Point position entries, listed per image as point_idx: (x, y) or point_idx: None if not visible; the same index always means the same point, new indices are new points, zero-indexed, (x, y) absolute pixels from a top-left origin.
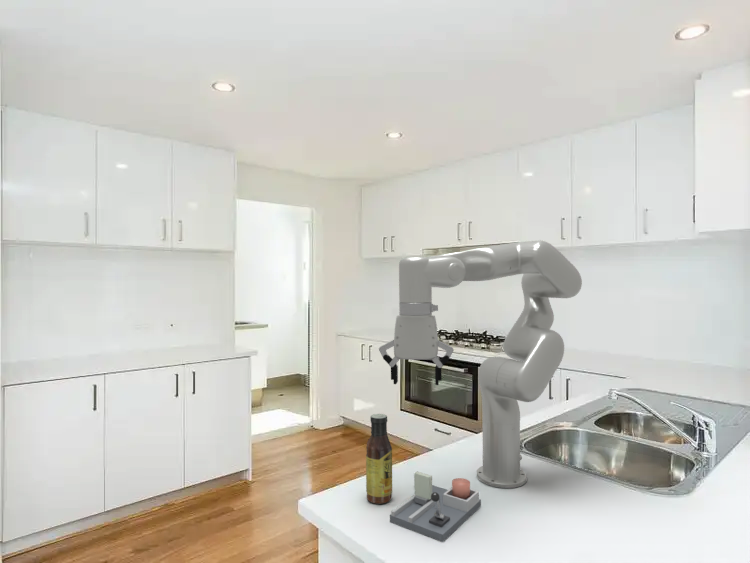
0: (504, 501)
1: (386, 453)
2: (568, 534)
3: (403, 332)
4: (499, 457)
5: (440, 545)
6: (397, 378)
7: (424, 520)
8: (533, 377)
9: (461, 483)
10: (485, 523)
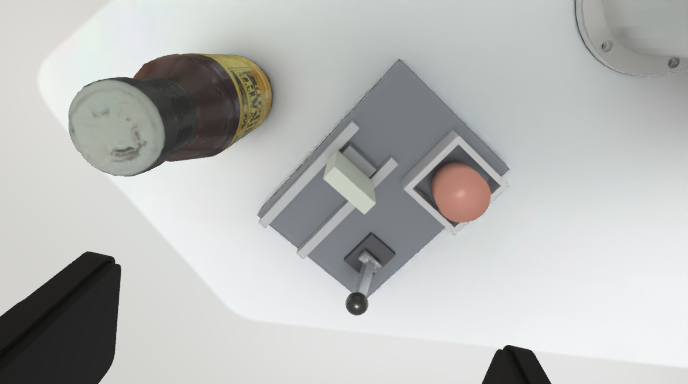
0: (578, 146)
1: (217, 153)
2: (633, 296)
3: None
4: (684, 50)
5: None
6: (100, 306)
7: (336, 247)
8: None
9: (461, 208)
10: (479, 239)
